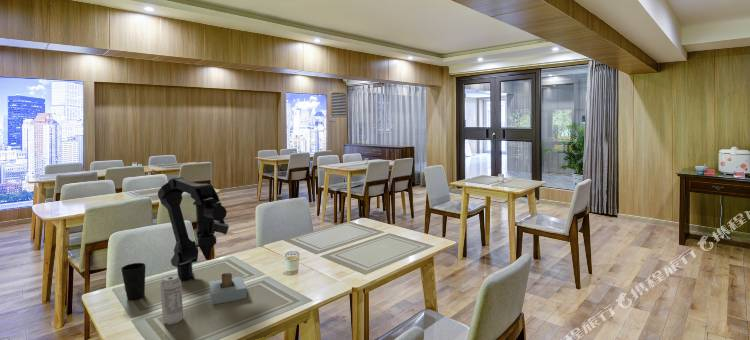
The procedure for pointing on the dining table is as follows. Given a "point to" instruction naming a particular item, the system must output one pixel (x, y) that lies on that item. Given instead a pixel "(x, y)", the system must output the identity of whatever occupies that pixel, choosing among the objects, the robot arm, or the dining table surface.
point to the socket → (227, 291)
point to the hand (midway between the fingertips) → (206, 256)
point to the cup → (134, 280)
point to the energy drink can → (171, 299)
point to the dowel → (226, 280)
